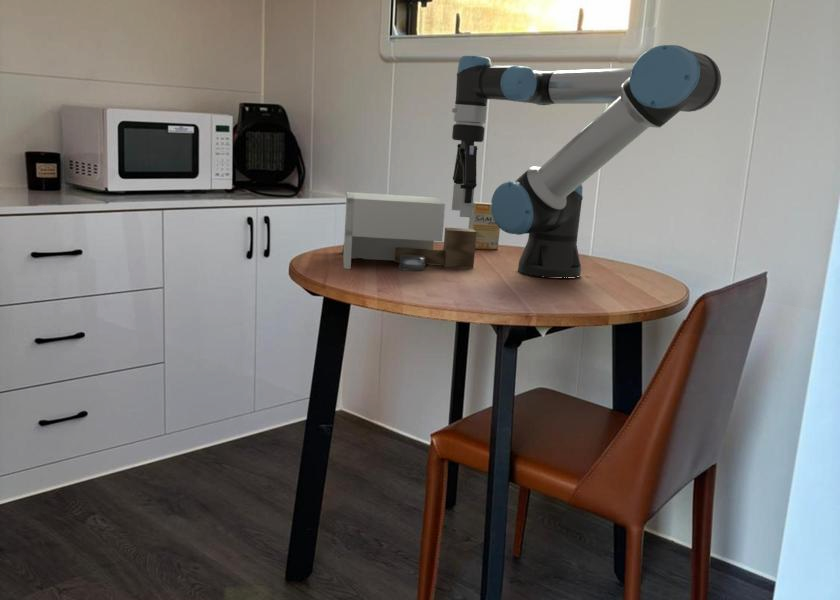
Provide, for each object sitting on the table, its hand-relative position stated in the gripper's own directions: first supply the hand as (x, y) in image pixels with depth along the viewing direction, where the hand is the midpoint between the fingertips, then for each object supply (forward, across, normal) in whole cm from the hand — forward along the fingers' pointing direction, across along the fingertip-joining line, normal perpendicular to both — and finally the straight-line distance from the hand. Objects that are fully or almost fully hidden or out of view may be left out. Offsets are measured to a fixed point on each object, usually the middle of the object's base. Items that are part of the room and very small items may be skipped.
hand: (461, 213), depth 193 cm
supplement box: (+13, -32, +12) cm, 37 cm away
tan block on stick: (+13, 0, -6) cm, 14 cm away
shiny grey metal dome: (+13, +7, -12) cm, 19 cm away
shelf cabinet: (+13, +4, -17) cm, 22 cm away
